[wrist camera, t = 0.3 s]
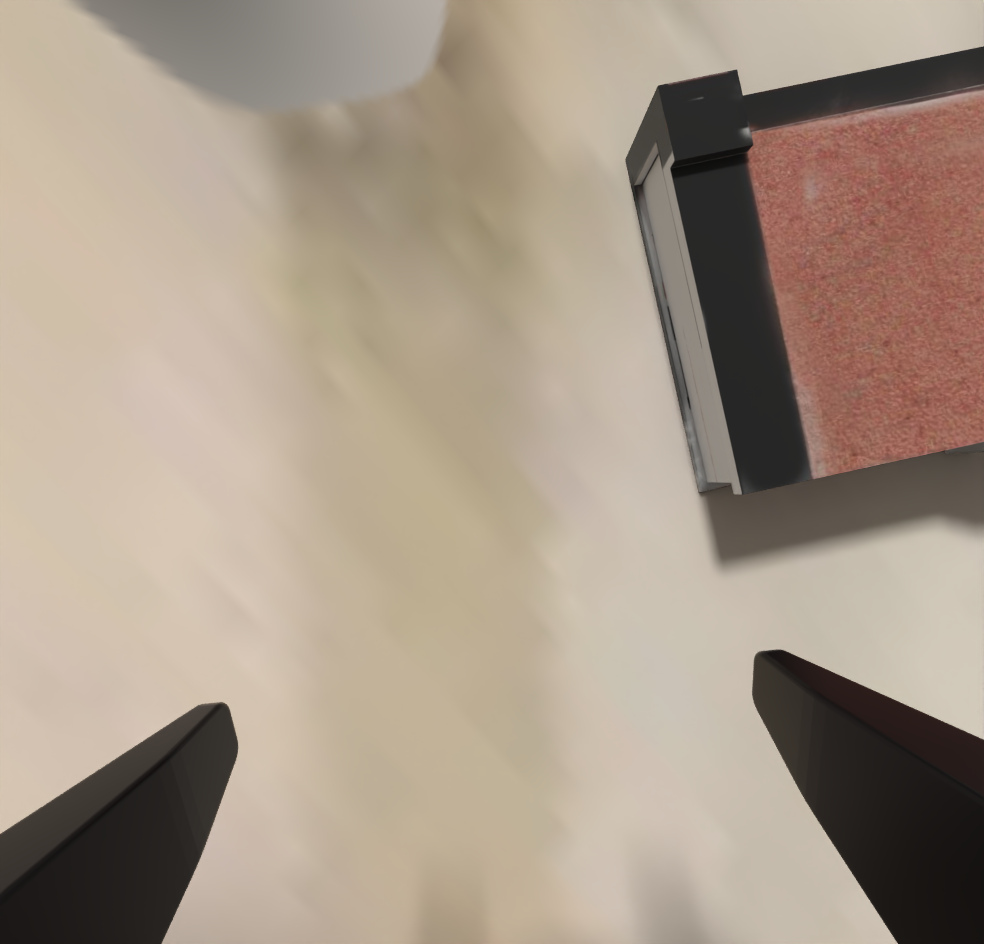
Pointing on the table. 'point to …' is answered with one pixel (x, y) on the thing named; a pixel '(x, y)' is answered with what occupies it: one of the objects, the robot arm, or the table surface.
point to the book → (819, 267)
